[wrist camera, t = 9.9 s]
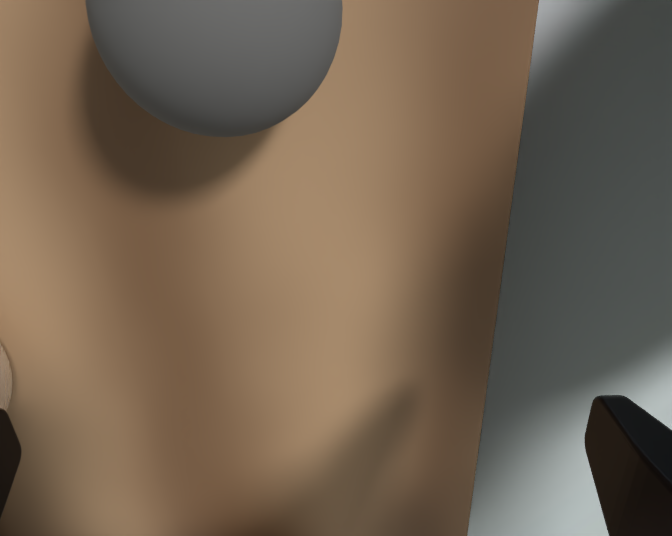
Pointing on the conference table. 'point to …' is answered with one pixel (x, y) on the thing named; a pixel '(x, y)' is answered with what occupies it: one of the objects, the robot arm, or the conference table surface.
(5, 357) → the steel ball
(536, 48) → the conference table surface
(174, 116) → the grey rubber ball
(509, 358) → the conference table surface
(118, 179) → the walnut deck
